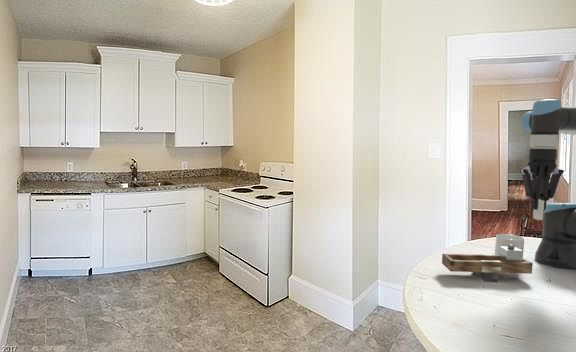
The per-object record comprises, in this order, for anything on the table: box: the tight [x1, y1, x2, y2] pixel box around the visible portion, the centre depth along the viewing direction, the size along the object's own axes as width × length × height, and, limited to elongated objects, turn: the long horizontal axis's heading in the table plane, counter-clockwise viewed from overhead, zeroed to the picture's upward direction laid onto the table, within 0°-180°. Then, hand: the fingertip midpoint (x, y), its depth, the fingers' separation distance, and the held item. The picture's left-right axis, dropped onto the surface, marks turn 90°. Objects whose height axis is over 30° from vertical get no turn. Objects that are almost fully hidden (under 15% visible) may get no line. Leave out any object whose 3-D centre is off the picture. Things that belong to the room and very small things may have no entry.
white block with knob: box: [499, 244, 522, 262], centre depth 125 cm, size 5×4×6 cm
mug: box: [494, 233, 525, 258], centre depth 138 cm, size 12×9×11 cm
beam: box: [441, 253, 534, 283], centre depth 126 cm, size 26×9×7 cm, turn 87°
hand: (537, 219), depth 123 cm, fingers closed
